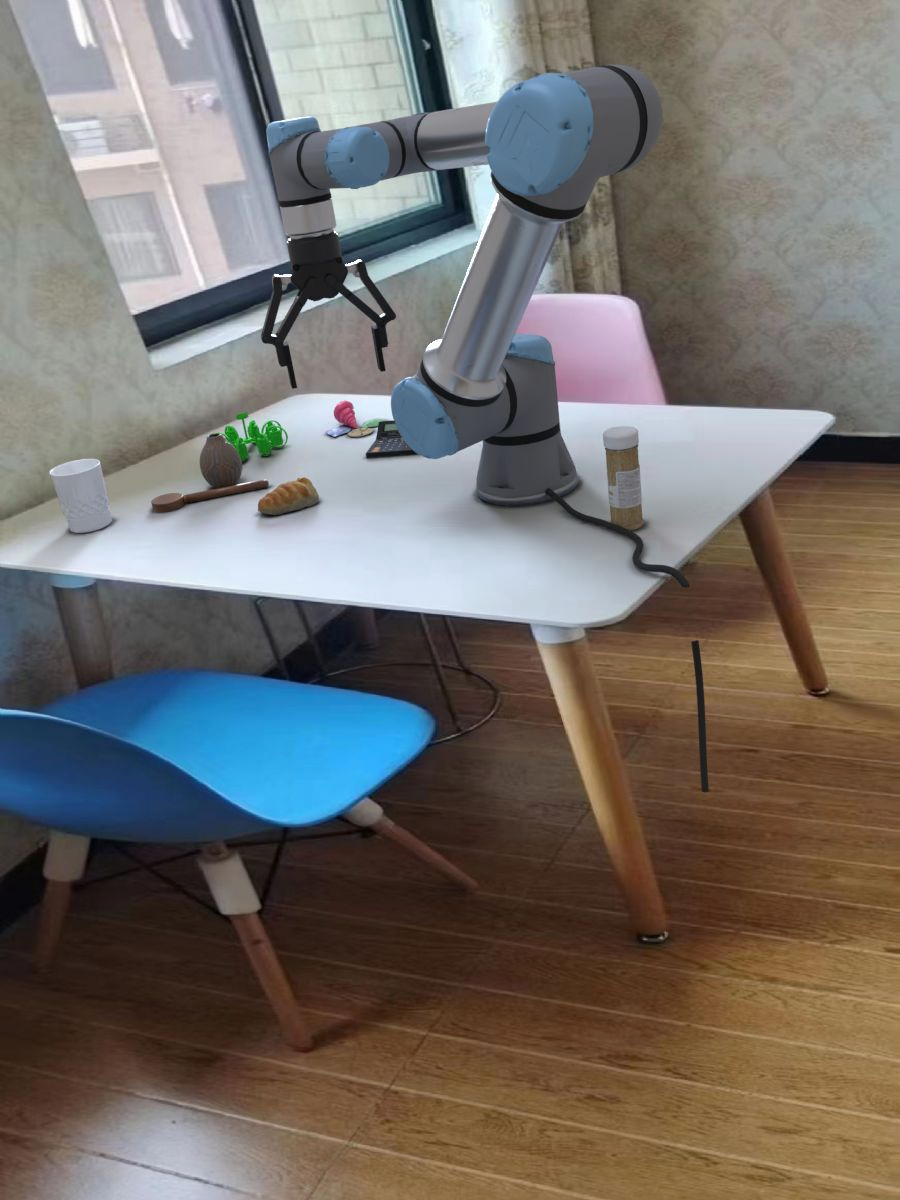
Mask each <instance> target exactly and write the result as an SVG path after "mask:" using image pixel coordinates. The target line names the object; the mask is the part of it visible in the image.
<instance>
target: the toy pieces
mask: <svg viewBox="0 0 900 1200" xmlns="http://www.w3.org/2000/svg"><path fill="white" fill-rule="evenodd" d="M354 409H355V407H354V404H353V403H352V402H351V401H349V400H341V401H340V402H337V404H336V405H335V406H334V409H333V418H334V420H335V421H337V422H338V423H339V424H343V425H344V426H340V427H333V428H332V429H330V430H328V431H327V432H326V434H327V435H329V436H331V437H334V438H336V437H339V436H342V435H345V434H347V436H348V437H349V438H361V437H365V436H367V435H371V434H372V433H373V432H374V430H373V429H372V428H376V427H377V428H378V424H379V422H381V421H387V420H386V419H384V418H375V419H374V418H373V419H371V420H368V421H365V423H364V424H363V425H360V428H358V424H357V418H356V412H355V410H354ZM352 428H353V429H352Z"/></svg>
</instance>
